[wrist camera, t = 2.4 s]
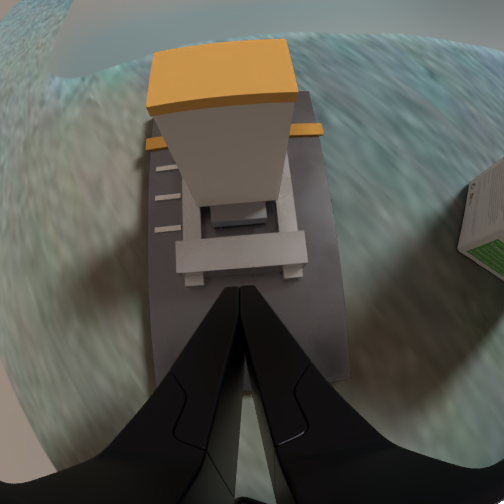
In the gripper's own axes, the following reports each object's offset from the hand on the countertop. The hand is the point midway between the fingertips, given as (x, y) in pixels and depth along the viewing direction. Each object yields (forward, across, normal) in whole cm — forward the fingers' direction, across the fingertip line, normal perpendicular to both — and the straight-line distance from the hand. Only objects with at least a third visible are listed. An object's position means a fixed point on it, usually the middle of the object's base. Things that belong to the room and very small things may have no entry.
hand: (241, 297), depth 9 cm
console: (+10, 0, +4) cm, 11 cm away
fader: (+11, 0, +1) cm, 11 cm away
